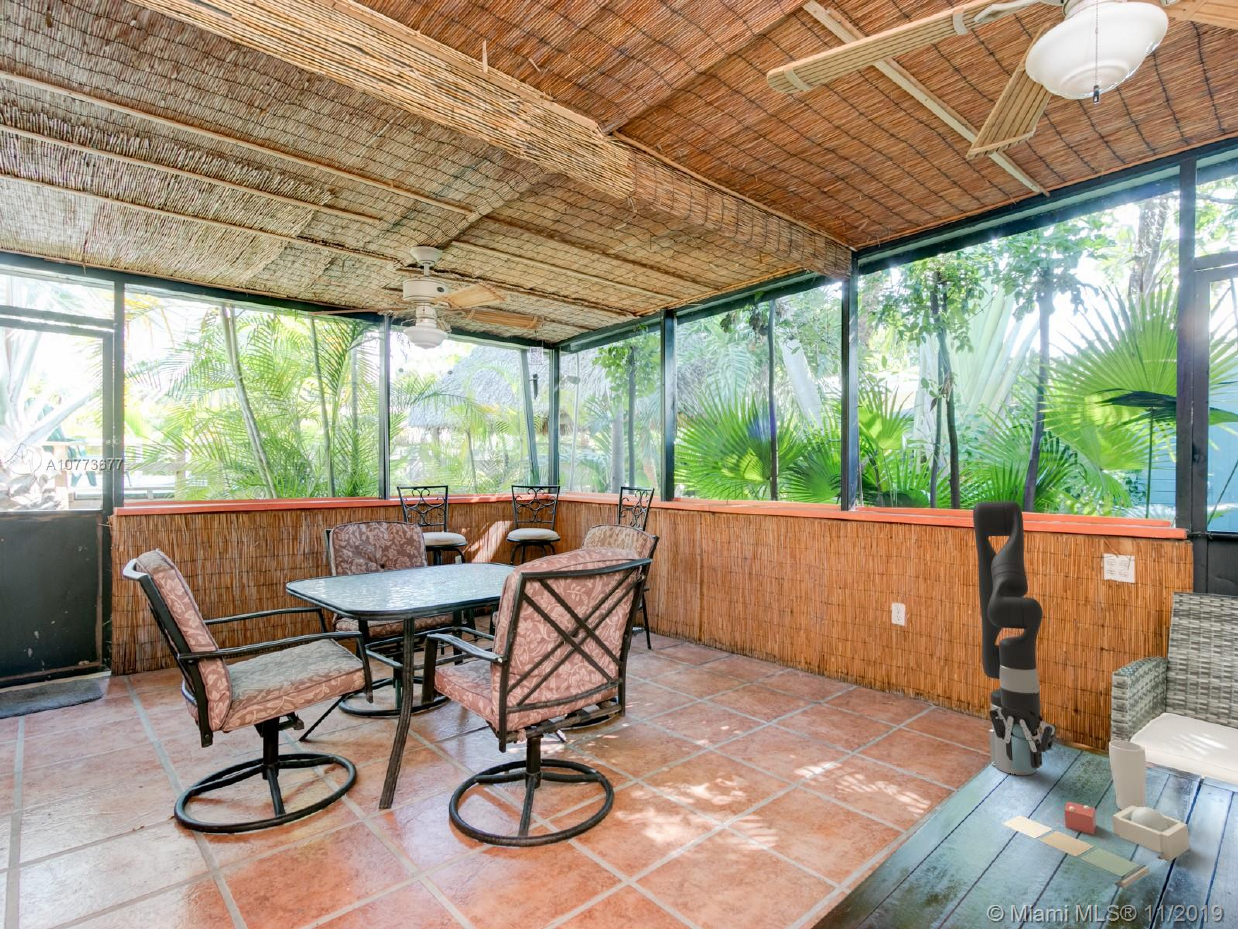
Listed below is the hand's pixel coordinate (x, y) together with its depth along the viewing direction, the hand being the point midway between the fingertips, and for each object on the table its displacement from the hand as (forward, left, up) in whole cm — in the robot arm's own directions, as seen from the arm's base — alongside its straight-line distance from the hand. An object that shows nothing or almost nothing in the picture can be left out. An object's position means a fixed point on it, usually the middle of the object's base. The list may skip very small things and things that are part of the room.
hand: (1024, 763), depth 141 cm
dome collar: (+16, +17, -15) cm, 28 cm away
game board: (+8, 0, -15) cm, 17 cm away
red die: (+6, +10, -15) cm, 19 cm away
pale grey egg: (+16, +17, -15) cm, 27 cm away
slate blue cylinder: (0, 0, -1) cm, 1 cm away
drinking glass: (+7, +30, -15) cm, 34 cm away
